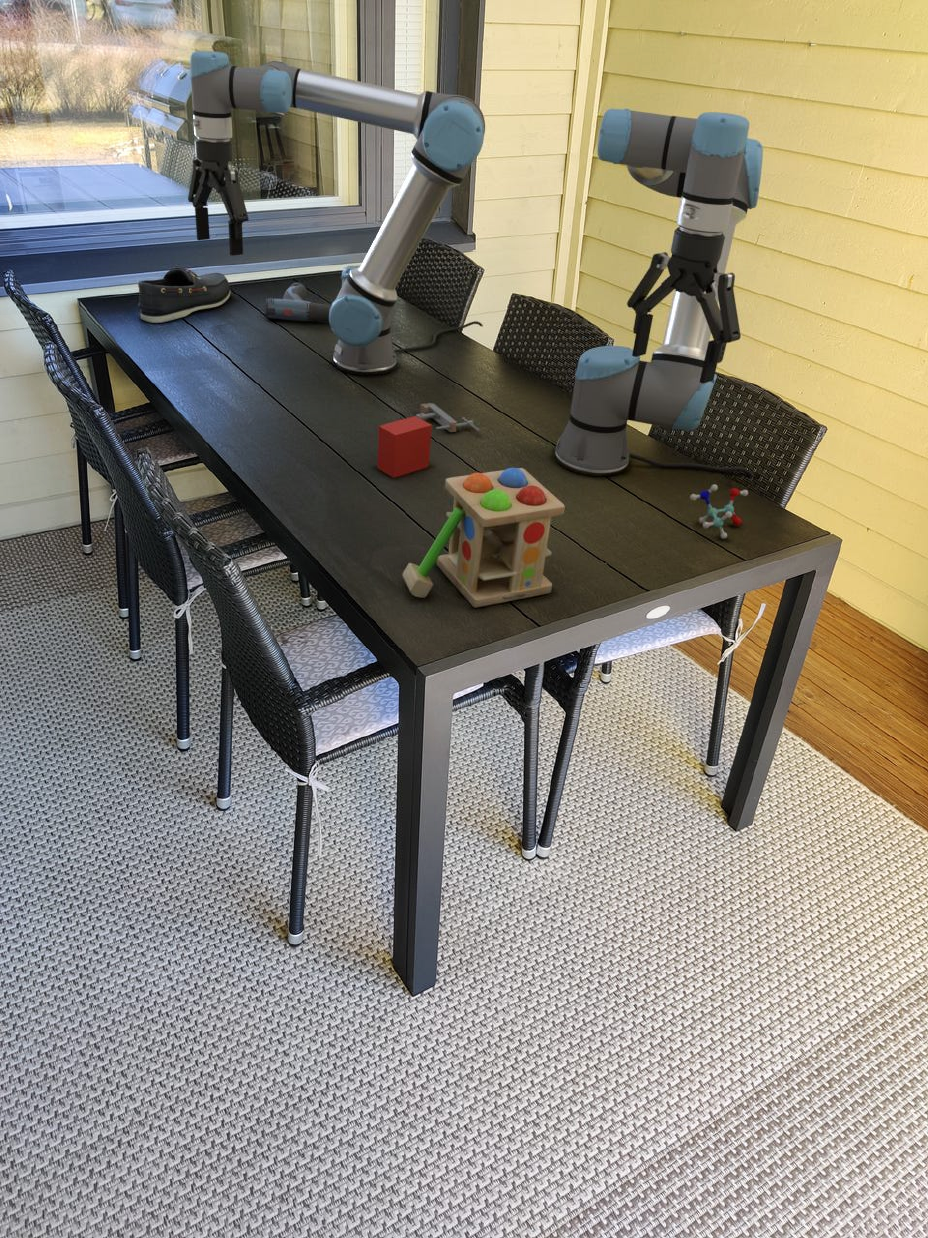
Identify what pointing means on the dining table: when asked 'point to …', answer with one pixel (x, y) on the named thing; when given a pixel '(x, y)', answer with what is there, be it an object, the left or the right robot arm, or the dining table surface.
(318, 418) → the dining table surface
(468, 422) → the clamp
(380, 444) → the block
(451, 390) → the dining table surface
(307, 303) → the power drill
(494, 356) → the dining table surface
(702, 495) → the molecular model
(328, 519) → the dining table surface
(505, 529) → the pounding bench toy
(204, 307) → the boat shoe
